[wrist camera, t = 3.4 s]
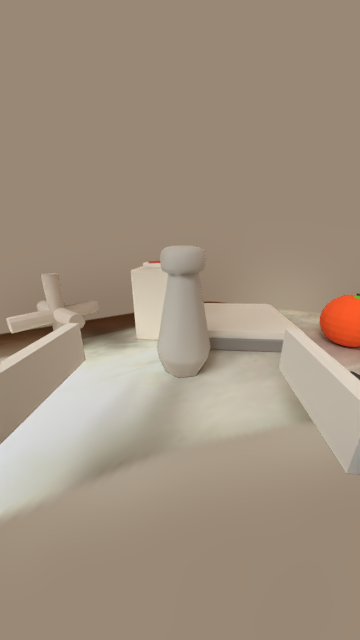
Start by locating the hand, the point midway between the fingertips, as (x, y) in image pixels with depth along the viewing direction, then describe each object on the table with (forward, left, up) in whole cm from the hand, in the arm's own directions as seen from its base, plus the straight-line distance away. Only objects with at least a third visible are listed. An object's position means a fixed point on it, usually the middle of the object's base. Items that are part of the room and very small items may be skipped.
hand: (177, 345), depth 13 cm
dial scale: (+4, +20, -7) cm, 22 cm away
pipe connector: (-16, +11, -7) cm, 21 cm away
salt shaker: (0, +8, -7) cm, 11 cm away
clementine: (+22, +15, -7) cm, 28 cm away
